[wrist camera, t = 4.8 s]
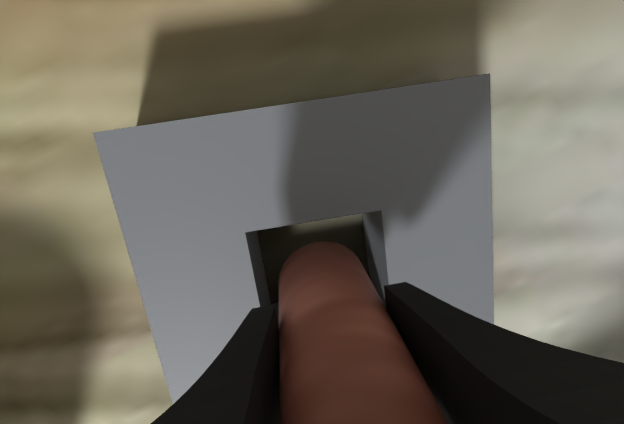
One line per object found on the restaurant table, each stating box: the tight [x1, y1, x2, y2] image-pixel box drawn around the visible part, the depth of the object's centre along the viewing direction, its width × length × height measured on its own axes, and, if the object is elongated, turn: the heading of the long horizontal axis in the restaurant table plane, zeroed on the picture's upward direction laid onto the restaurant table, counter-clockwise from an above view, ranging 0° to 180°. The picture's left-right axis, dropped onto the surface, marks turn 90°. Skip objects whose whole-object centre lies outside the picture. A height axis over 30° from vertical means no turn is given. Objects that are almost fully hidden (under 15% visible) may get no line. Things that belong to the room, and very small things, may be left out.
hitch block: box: [93, 74, 494, 404], centre depth 15 cm, size 12×12×4 cm
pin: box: [279, 241, 448, 424], centre depth 9 cm, size 3×3×8 cm
